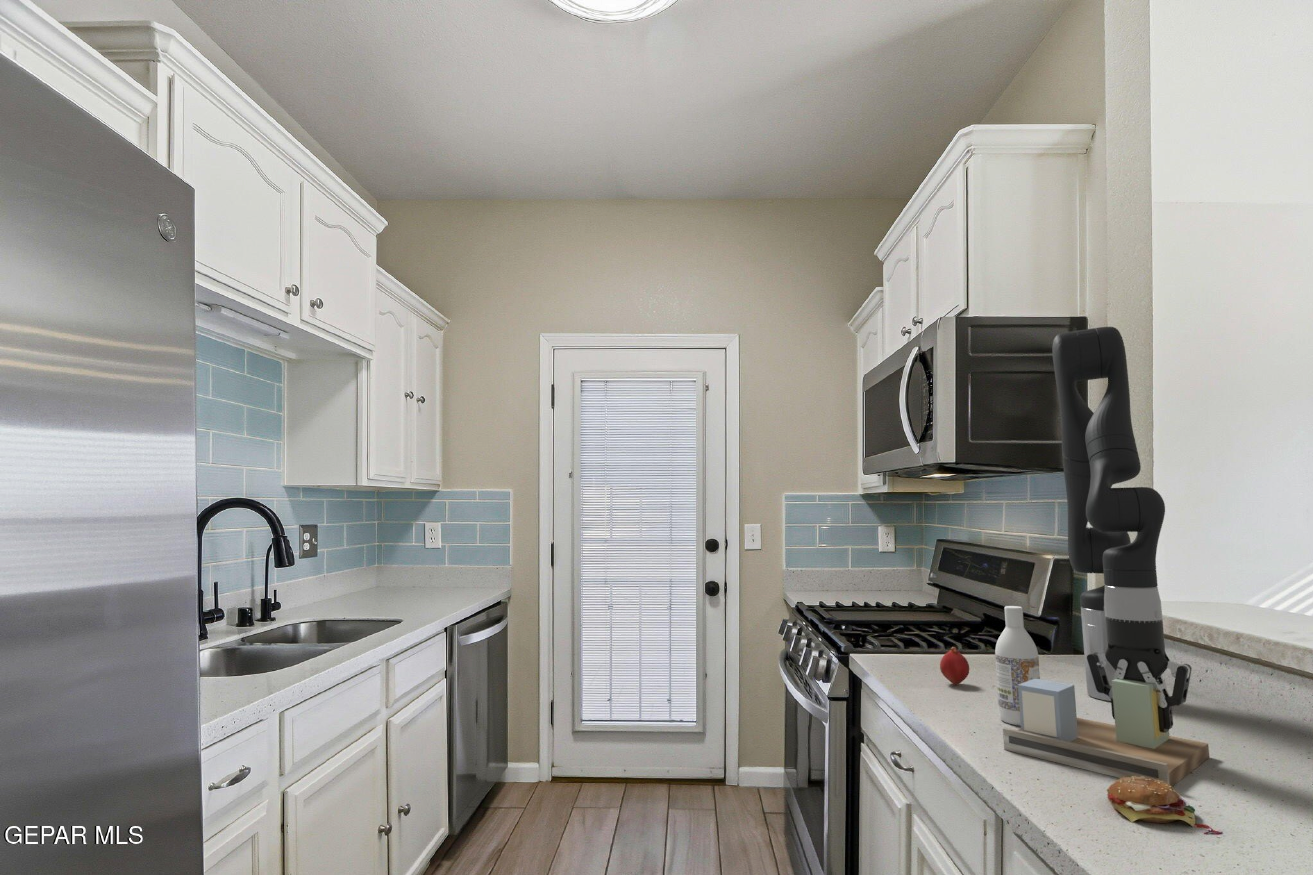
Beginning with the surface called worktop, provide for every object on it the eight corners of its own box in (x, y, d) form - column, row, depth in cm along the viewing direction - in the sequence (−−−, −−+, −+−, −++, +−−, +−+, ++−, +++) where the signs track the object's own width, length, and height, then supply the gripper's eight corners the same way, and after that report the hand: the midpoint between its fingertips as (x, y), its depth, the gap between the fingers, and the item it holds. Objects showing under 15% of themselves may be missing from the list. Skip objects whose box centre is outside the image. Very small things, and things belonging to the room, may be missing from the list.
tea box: (1116, 740, 111) (1111, 680, 112) (1132, 731, 116) (1128, 673, 116) (1155, 748, 107) (1150, 686, 108) (1170, 738, 112) (1165, 678, 112)
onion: (938, 681, 158) (936, 644, 159) (965, 681, 157) (963, 644, 158) (945, 688, 152) (942, 649, 153) (973, 688, 152) (971, 649, 152)
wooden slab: (1055, 724, 126) (1054, 706, 126) (1209, 757, 109) (1207, 735, 109) (1003, 749, 114) (1001, 728, 114) (1167, 790, 97) (1165, 765, 97)
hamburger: (1123, 841, 84) (1119, 787, 85) (1084, 794, 98) (1080, 748, 98) (1264, 852, 81) (1259, 796, 81) (1204, 802, 94) (1199, 754, 95)
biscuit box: (1038, 728, 118) (1034, 678, 118) (1078, 737, 113) (1074, 684, 114) (1020, 737, 114) (1017, 684, 115) (1061, 746, 109) (1057, 691, 110)
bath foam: (1029, 729, 124) (1021, 610, 126) (991, 720, 130) (984, 606, 131) (1050, 722, 128) (1042, 607, 130) (1013, 713, 133) (1005, 603, 135)
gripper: (1195, 617, 110) (1206, 732, 108) (1092, 608, 121) (1100, 713, 119) (1179, 623, 105) (1190, 743, 104) (1073, 613, 116) (1082, 722, 115)
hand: (1142, 726), depth 112 cm, fingers closed on tea box, 5 cm apart
